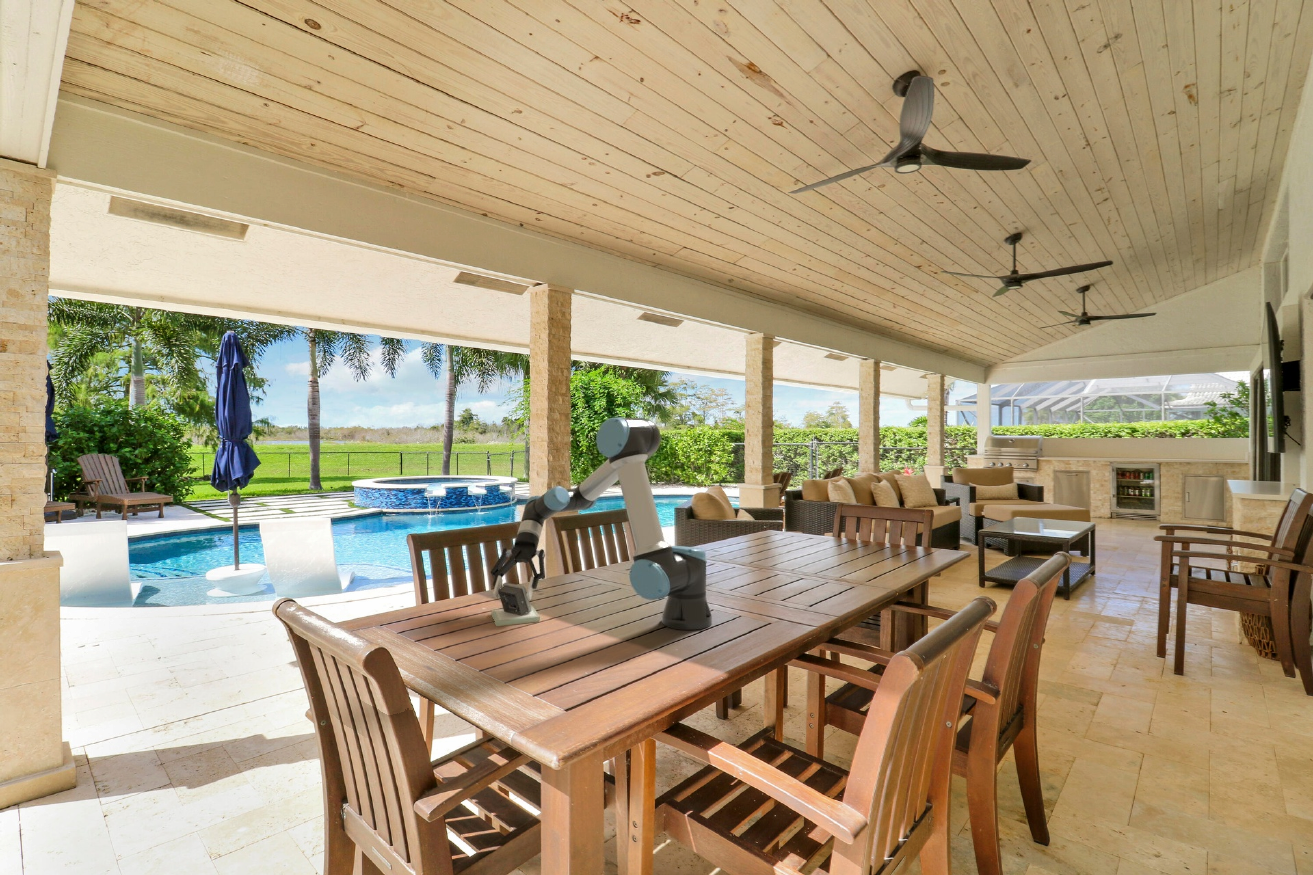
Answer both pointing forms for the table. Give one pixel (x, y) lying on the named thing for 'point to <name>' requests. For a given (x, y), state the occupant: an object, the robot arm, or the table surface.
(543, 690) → the table surface
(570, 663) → the table surface
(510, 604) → the electrical switch
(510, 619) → the board
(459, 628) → the table surface
